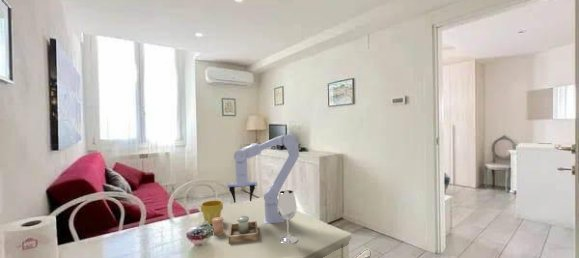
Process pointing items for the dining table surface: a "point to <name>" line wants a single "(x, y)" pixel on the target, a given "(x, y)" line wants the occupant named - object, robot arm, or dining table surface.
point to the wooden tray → (241, 237)
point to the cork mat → (221, 233)
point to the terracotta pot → (218, 225)
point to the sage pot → (243, 224)
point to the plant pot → (211, 210)
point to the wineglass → (287, 212)
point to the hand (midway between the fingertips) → (242, 201)
